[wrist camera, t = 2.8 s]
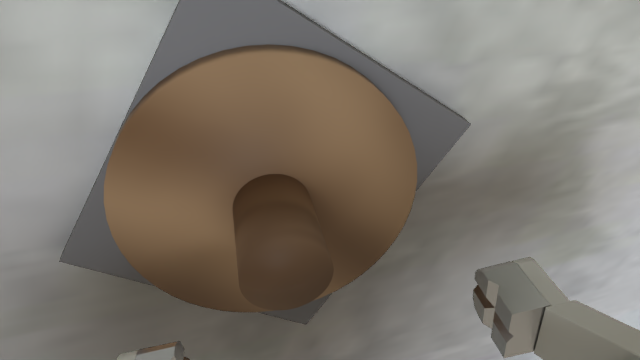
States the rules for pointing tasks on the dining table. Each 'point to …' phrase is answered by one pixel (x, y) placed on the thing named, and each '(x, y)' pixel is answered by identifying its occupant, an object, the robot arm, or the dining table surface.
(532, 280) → the robot arm
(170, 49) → the mat
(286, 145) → the lid
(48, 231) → the dining table surface
